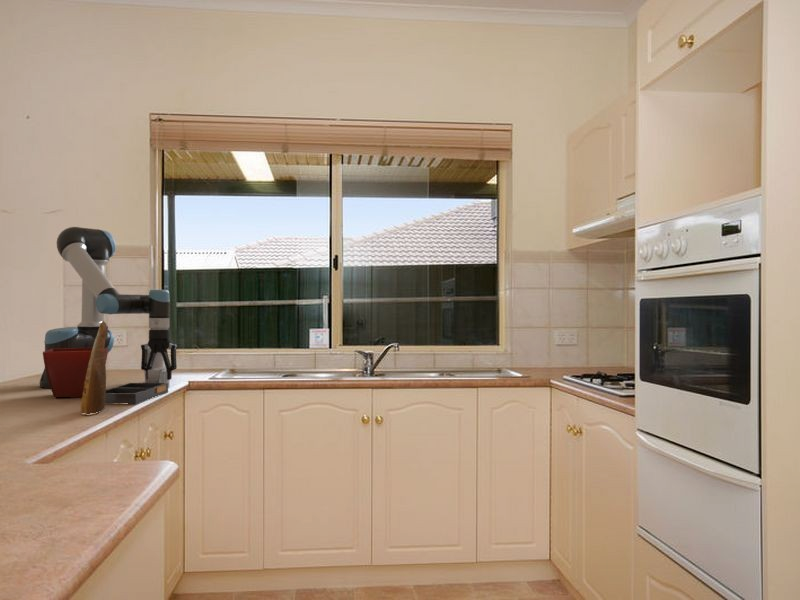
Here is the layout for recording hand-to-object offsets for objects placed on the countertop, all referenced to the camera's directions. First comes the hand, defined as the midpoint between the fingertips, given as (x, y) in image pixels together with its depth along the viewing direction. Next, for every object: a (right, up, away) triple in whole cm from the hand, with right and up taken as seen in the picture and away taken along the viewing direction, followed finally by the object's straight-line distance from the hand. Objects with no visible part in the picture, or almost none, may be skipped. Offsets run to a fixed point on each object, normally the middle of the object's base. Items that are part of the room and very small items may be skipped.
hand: (158, 387), depth 241 cm
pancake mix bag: (0, 0, -50) cm, 50 cm away
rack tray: (0, 0, -23) cm, 23 cm away
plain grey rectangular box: (0, 0, 0) cm, 0 cm away
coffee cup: (-10, -1, +19) cm, 21 cm away
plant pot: (-23, 0, -18) cm, 29 cm away
